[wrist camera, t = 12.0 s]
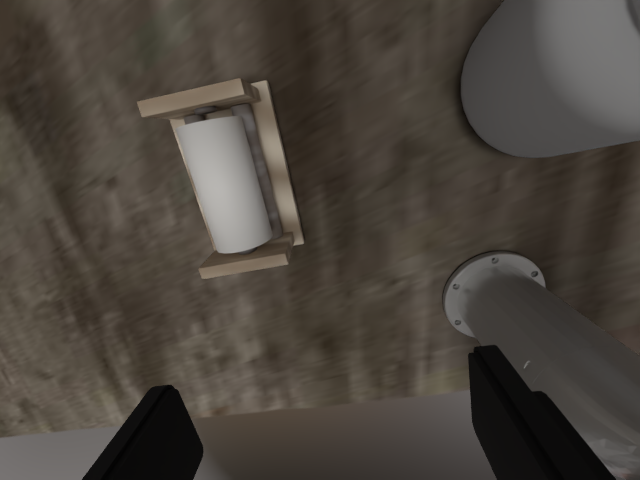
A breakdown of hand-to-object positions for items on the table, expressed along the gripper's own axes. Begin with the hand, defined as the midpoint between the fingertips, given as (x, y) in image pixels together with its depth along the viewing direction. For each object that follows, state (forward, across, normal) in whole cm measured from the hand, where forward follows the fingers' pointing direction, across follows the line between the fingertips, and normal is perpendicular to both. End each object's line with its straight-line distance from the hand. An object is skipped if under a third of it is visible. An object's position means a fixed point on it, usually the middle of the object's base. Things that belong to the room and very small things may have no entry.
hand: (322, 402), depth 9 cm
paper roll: (+25, +9, -5) cm, 27 cm away
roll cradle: (+28, +10, -6) cm, 30 cm away
